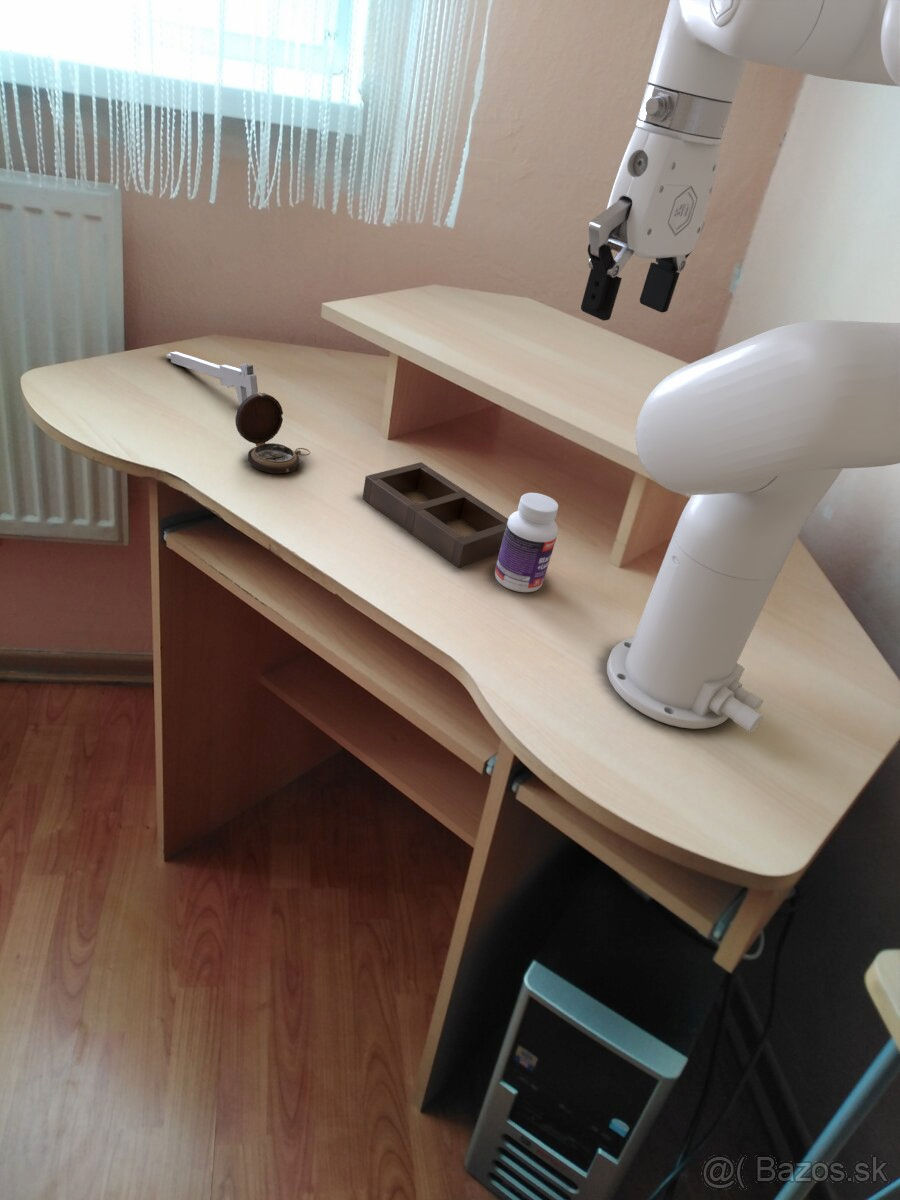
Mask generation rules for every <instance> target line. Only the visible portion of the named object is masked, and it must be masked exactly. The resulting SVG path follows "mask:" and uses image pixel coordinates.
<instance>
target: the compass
mask: <svg viewBox="0 0 900 1200" xmlns="http://www.w3.org/2000/svg"><path fill="white" fill-rule="evenodd" d="M283 415H284V412H283V407H282V405H281V403H280V402H279V400H278V399H276V398H275V397H274V396H273V395H270V394H268V393H266V392H259V391H258V393H257V394H253V395H251V396H249V397H247V398H246V399H245V400H244V401H243V402H242V403H241V405H240V404H239V405H238V408H237V410H236V413H235V428H236V430H237V432H238V434H239V435H240V437H241V438H243V439H244V440H245V441H247V442H249V443H252V444H255V447H252V448H251V449H250V450H249V451H248V453H247V461H248V463H249V464H250V465H251V466H252V467H253V468H255V469H257V470H259V471H262V472H265V473H271V474H287V473H290V472H292V471H295V470H296V469H298V467H299V466H300V456H303V457H304V456H309V455H310V454H311V451H310V450H309V449H307V448H305V447H298V448H296V449H294V450H293V449H292V448H290V447H288V446H287V445H284V444H280V443H273V442H272V443H270V442H269V441H271V440H273V439H274V437H275V436H276V435H277V434H278V433H279V431H280V429H281V428H282V424H283V420H284V418H283ZM301 450H304V451H307V452H308V453H302V451H301Z"/></svg>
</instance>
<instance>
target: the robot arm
mask: <svg viewBox="0 0 900 1200" xmlns="http://www.w3.org/2000/svg"><path fill="white" fill-rule="evenodd" d="M747 62H751V63H756V64H760V65H764V66H772V67H776V68H780V69H781V68H782V69H787V70H790V71H793V72H798V73H801V74H807V75H810V76H814V77H819V78H825V79H832V80H839V81H847V82H856V83H865V84H872V85H873V84H874V85H881V86H890V87H898V88H900V0H669V3H668V6H667V10H666V13H665V17H664V21H663V24H662V28H661V32H660V35H659V38H658V43H657V47H656V51H655V53H654V57H653V62H652V65H651V69H650V71H649V75H648V79H647V82H646V86H645V89H644V94H643V97H642V100H641V105H640V109H639V112H638V116H637V120H636V123H635V128H634V130H633V133H632V135H631V137H630V140H629V142H628V145H627V147H626V150H625V152H624V155H623V158H622V160H621V163H620V166H619V169H618V172H617V175H616V178H615V180H614V183H613V187H612V190H611V192H610V196H609V200H608V203H607V207H606V209H605V210H604V211H602V212H601V213H600V214H598V215H597V216H595V217H594V218H593V219H591V221H590V222H589V224H588V246H587V253H588V257H589V260H588V268H589V269H590V271H589V274H588V279H587V281H586V282H587V283H586V285H585V289H584V294H583V297H582V301H581V304H580V309H581V311H582V312H583V313H585V314H588V315H590V316H591V317H594V318H597V319H599V320H601V321H603V322H604V321H610V320H611V317H612V314H613V310H614V307H615V303H616V301H617V296H618V293H619V289H620V287H621V283H622V279H623V278H622V277H620V276H618V275H619V274H620V273H621V272H622V270H623V269H624V268H625V266H626V265H627V264H628V262H629V261H630V259H631V258H632V257H633V255H635V256H636V257H638V258H639V259H643V260H647V259H649V260H650V259H651V260H652V259H655V262H650V263H649V267H648V271H647V273H646V277H645V280H644V284H643V287H642V290H641V293H640V297H639V303H640V304H641V305H643V306H645V307H648V308H650V309H651V310H653V311H657V312H659V313H667V312H668V311H669V308H670V304H671V302H672V298H673V295H674V293H675V289H676V286H677V282H678V280H679V278H680V274H681V272H682V271H684V269H685V268H686V264H687V260H686V259H687V258H688V257H689V256H690V255H691V253H692V252H693V251H694V250H695V248H696V246H697V243H698V241H699V240H698V239H699V236H700V235H701V234H702V231H703V230H704V228H705V225H706V224H705V218H706V214H707V210H708V207H709V203H710V200H711V196H712V191H713V188H714V183H715V179H716V174H717V170H718V166H719V165H718V164H719V159H720V152H721V146H722V145H721V143H722V139H723V136H724V132H725V129H726V126H727V123H728V120H729V116H730V114H731V111H732V108H733V104H734V102H735V98H736V96H737V92H738V89H739V87H740V83H741V80H742V77H743V73H744V71H745V68H746V65H747ZM612 251H615V252H618V253H617V254H616V256H615V257H614V255H613V252H612ZM635 426H636V427H635V437H634V438H635V439H634V440H635V448H636V453H637V455H638V459H639V461H640V463H641V465H642V468H643V469H644V470H645V472H646V473H647V475H648V476H649V477H650V478H651V479H652V480H653V481H654V482H655V483H657V484H658V485H659V486H661V487H663V488H664V489H666V490H667V491H670V492H672V493H676V494H679V495H685V496H690V497H689V499H688V501H687V503H686V504H685V506H684V508H683V511H682V512H681V514H680V516H679V519H678V522H677V524H676V527H675V529H674V531H673V534H672V536H671V539H670V541H669V544H668V547H667V549H666V551H665V555H664V556H663V557H664V558H663V559H662V563H661V565H660V568H659V570H658V573H657V576H656V578H655V580H654V582H653V586H652V589H651V591H650V594H649V596H648V599H647V601H646V605H645V607H644V610H643V613H642V615H641V617H640V620H639V623H638V625H637V628H636V631H635V633H634V636H633V637H630V638H627V639H623V640H622V641H620V642H619V643H616V645H615V646H614V647H613V648H612V649H611V651H610V654H609V657H608V659H607V663H606V674H607V677H608V679H609V682H610V684H611V685H612V687H613V689H614V690H615V692H616V693H617V694H618V695H619V696H620V697H621V698H622V700H624V701H625V702H626V703H628V705H630V706H631V707H632V708H634V709H636V710H637V711H638V712H640V713H641V714H642V715H645V716H647V717H649V718H650V719H652V720H655V721H657V722H661V723H663V724H666V725H669V726H673V727H678V728H683V729H691V730H692V729H694V730H697V729H699V730H700V729H709V728H713V727H716V726H719V725H721V724H723V723H725V722H726V721H727V720H728V719H731V720H732V722H733V723H734V724H736V725H738V726H739V727H740V728H742V729H743V730H744V731H747V732H748V733H749V734H752V733H753V732H754V731H755V730H756V729H757V728H758V726H759V725H760V723H761V722H762V720H763V718H764V715H763V714H761V713H760V712H758V710H759V709H760V708H761V706H762V705H763V702H764V700H763V699H761V698H760V697H759V696H757V695H756V694H754V693H753V692H749V691H748V690H747V689H745V688H744V687H743V683H741V682H740V679H741V677H742V676H743V673H744V672H745V667H744V666H743V665H741V664H739V663H738V661H739V659H740V657H741V656H742V653H743V651H744V649H745V646H746V644H747V642H748V640H749V638H750V636H751V634H752V632H753V629H754V628H755V626H756V623H757V621H758V619H759V617H760V615H761V613H762V610H763V608H764V607H765V604H766V602H767V600H768V598H769V597H770V596H769V595H770V594H771V592H772V590H773V587H774V586H775V583H776V581H777V579H778V577H779V575H780V573H781V571H782V570H783V567H784V565H785V563H786V561H787V559H788V557H789V555H790V553H791V551H792V549H793V547H794V545H795V543H796V541H797V539H798V537H799V535H800V533H801V531H802V530H803V528H804V526H805V524H806V523H807V521H808V520H809V518H810V516H811V515H812V514H813V512H814V511H815V509H816V507H817V506H818V505H819V503H820V502H821V501H822V499H823V498H824V497H825V496H826V494H827V493H828V491H829V490H830V488H831V487H832V486H833V484H834V483H835V481H836V480H837V479H838V478H839V476H840V474H841V473H842V471H843V470H844V469H864V468H865V469H866V468H876V467H887V466H892V465H898V464H900V322H874V321H857V320H856V321H854V320H839V319H837V320H835V319H818V320H806V321H799V322H794V323H789V324H786V325H782V326H779V327H774V328H772V329H769V330H767V331H763V332H762V333H759V334H757V335H753V336H751V337H749V338H747V339H745V340H742V341H739V342H738V343H735V344H733V345H731V346H728V347H726V348H724V349H722V350H719V351H716V352H714V353H712V354H709V355H708V356H705V357H702V358H700V359H698V360H695V361H693V362H691V363H688V364H687V365H684V366H682V367H680V368H678V369H676V370H675V371H673V372H672V373H670V374H668V375H667V376H666V377H664V378H663V379H662V380H661V381H660V382H659V383H658V384H657V385H656V386H655V387H654V389H652V391H651V392H650V393H649V394H648V396H647V398H646V400H645V401H644V403H643V405H642V407H641V409H640V412H639V415H638V418H637V421H636V425H635Z"/></svg>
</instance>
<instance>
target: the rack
mask: <svg viewBox="0 0 900 1200" xmlns="http://www.w3.org/2000/svg"><path fill="white" fill-rule="evenodd" d="M364 478H365V479H364V484H363V491H362V499H363V500H364V501H365V502H367V503H369V504H370V505H371V506H372V507H374V508H375V509H376V510H378V511H379V512H380V513H382V514H384V515H385V516H386V517H387V518H389V519H390V520H392V521H393V522H394V523H396V524H397V525H398V526H400V527H402V528H403V529H404V530H405V531H407V532H408V533H409V534H411V535H412V536H413V537H415V538H416V539H418V540H419V541H421V542H422V543H424V545H426V546H428V547H429V548H430V549H432V550H433V551H435V552H436V553H437V554H438V555H440V556H441V557H443V558H444V559H445V560H447V562H450V563H451V564H453V565H454V566H455V567H456V568H457V569H458V568H462V567H464V566H468V565H470V564H473V563H476V562H478V561H480V560H484V559H486V558H489V557H491V556H495V555H497V554H499V553H500V549H501V545H502V541H503V538H504V534H505V530H506V526H507V522H508V519H509V517H506V516H505V515H503V514H502V513H500V512H499V511H497V510H496V509H494V508H492V507H491V506H489V505H488V504H487V503H484V502H483V501H482V500H480V499H479V498H477V497H475V496H474V495H472V494H471V493H469V492H468V491H466V490H465V489H463V488H461V487H460V486H458V485H457V484H456V483H454V482H452V481H451V480H449V479H448V478H446V477H445V476H443V475H442V474H441V473H439V472H437V471H436V470H434V469H432V467H430V466H428V465H427V464H426V463H424V462H422V461H420V462H416V463H412V464H408V465H403V466H400V467H397V468H392V469H388V470H384V471H380V472H377V473H371V474H369V475H365V477H364ZM416 490H417V491H418V492H420V493H421V494H422V495H424V496H426V497H427V498H429V500H426V501H423V502H420V503H415V502H414V501H413V500H411V499H410V498H408V497H407V496H405V495H404V494H405V493H408V492H413V491H416ZM456 520H461V521H462V522H464V523H465V524H466V525H468V526H470V527H471V528H473V529H474V530H475V531H477V532H475V533H474V532H473V533H472V534H468V535H465V536H464V535H462V534H460V533H459V532H458V531H456V530H455V529H453V528H452V527H450V526H449V525H447V523H451V522H454V521H456Z"/></svg>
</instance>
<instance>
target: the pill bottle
mask: <svg viewBox="0 0 900 1200" xmlns="http://www.w3.org/2000/svg"><path fill="white" fill-rule="evenodd" d="M558 510H559V503H558V502H557V501H556V500H555V499H554V498H552V497H550V496H548V495H545V494H542V493H538V492H526V493H523V494H522V495H521V496H520V500H519V502H518V506H517V510H516V511H514V512H513V513H511V514H510V515H509V517H508V522H507V526H506V530H505V534H504V538H503V541H502V545H501V549H500V553H498V557H497V560H496V564H495V569H494V576H495V577H494V578H495V579H496V580H497V582H498V583H499V584H500V585H502V586H503V587H504V588H506V589H508V590H511V591H514V592H519V593H532V592H537V591H538V590H539V589H540V588H542V586H543V583H544V580H545V578H546V574H547V571H548V568H549V564H550V561H551V557H552V554H553V550H554V548H555V544H556V541H557V537H558V533H559V527H558V524H557V522H556V521H555V520H556V518H557V514H558Z"/></svg>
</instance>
